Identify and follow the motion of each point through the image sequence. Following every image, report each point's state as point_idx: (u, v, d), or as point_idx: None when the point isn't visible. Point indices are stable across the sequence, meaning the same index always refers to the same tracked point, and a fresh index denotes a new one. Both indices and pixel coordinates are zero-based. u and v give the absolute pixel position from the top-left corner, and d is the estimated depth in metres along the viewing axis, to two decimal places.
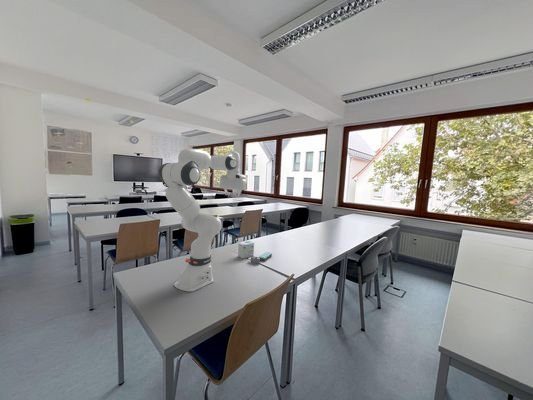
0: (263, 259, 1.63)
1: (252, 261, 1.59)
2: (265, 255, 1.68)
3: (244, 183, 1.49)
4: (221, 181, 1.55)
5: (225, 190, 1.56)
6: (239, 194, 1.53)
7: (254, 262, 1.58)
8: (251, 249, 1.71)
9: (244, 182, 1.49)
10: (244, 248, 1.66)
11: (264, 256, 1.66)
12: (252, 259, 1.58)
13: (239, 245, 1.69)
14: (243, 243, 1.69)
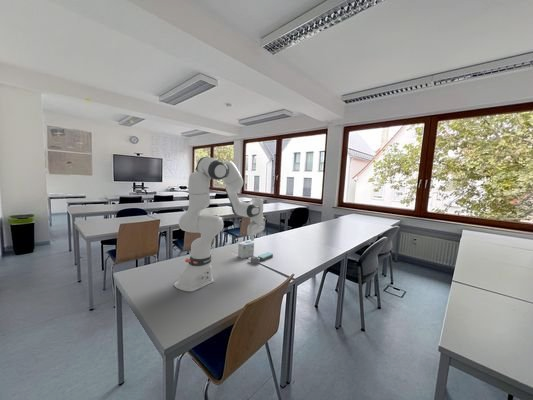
0: (261, 259, 1.64)
1: (252, 261, 1.59)
2: (265, 255, 1.68)
3: None
4: (252, 229, 1.49)
5: (252, 236, 1.52)
6: None
7: (254, 262, 1.58)
8: (251, 249, 1.71)
9: None
10: (244, 248, 1.66)
11: (263, 256, 1.66)
12: (252, 259, 1.58)
13: (239, 245, 1.69)
14: (243, 243, 1.69)
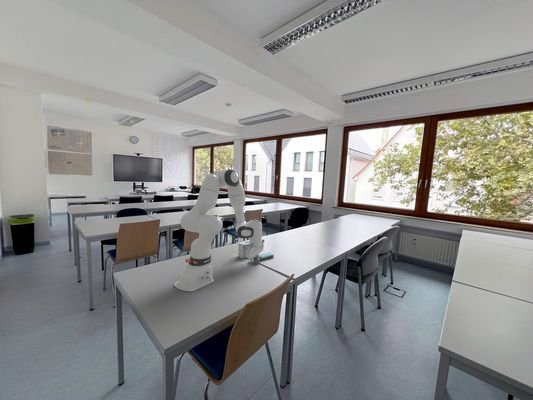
0: (260, 258, 1.65)
1: None
2: (264, 255, 1.68)
3: None
4: (251, 252, 1.51)
5: (253, 258, 1.56)
6: None
7: (254, 262, 1.58)
8: None
9: None
10: (244, 248, 1.66)
11: (262, 256, 1.66)
12: None
13: (239, 245, 1.69)
14: (243, 243, 1.69)
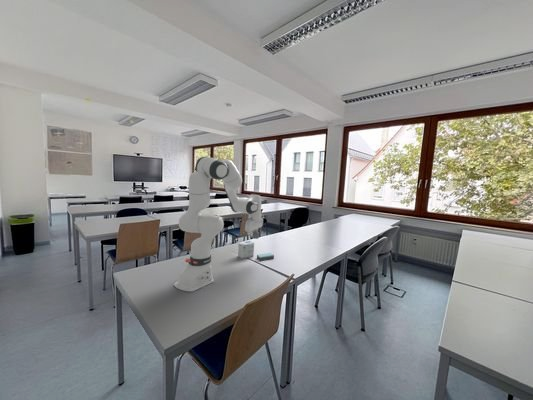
0: (259, 258, 1.65)
1: None
2: (264, 255, 1.68)
3: None
4: (250, 225, 1.52)
5: None
6: None
7: (253, 236, 1.59)
8: (251, 249, 1.71)
9: None
10: (244, 248, 1.66)
11: (261, 255, 1.67)
12: None
13: (239, 245, 1.69)
14: (243, 243, 1.69)
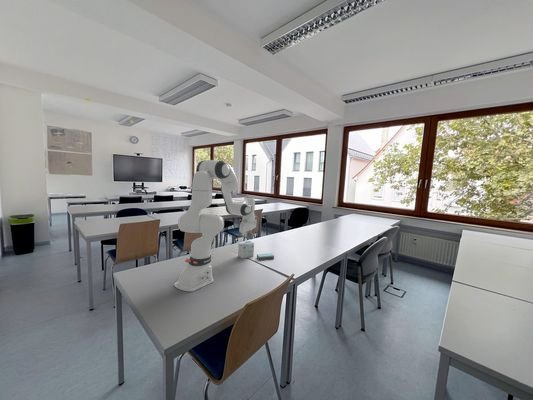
0: (258, 257, 1.66)
1: None
2: (264, 255, 1.68)
3: None
4: (244, 226, 1.61)
5: None
6: None
7: (247, 237, 1.68)
8: (251, 249, 1.71)
9: None
10: (244, 248, 1.66)
11: (261, 255, 1.67)
12: None
13: (239, 245, 1.69)
14: (243, 243, 1.69)
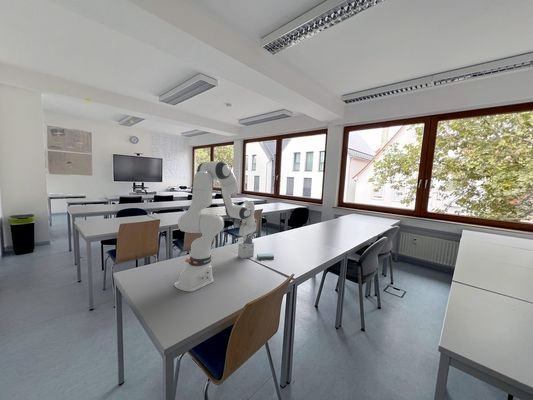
0: (258, 257, 1.67)
1: (245, 241, 1.69)
2: (264, 255, 1.68)
3: None
4: (244, 229, 1.61)
5: None
6: None
7: (247, 242, 1.68)
8: (251, 249, 1.71)
9: None
10: (244, 248, 1.66)
11: (261, 255, 1.67)
12: None
13: (239, 245, 1.69)
14: (243, 243, 1.69)
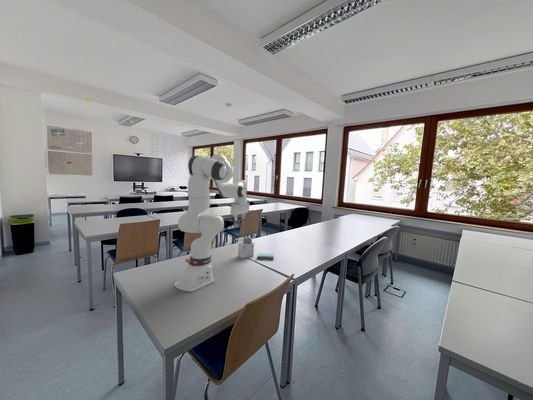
0: None
1: (245, 241, 1.69)
2: (263, 255, 1.69)
3: None
4: (235, 208, 1.58)
5: None
6: None
7: (246, 242, 1.68)
8: (251, 249, 1.71)
9: None
10: (244, 248, 1.66)
11: (260, 255, 1.68)
12: (245, 239, 1.69)
13: (239, 245, 1.69)
14: (243, 243, 1.69)
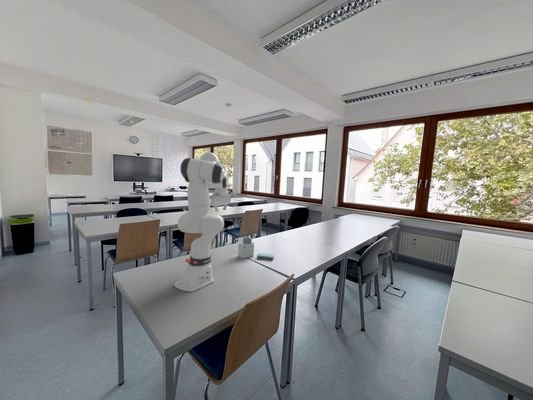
0: None
1: (244, 241, 1.69)
2: (263, 254, 1.69)
3: None
4: (215, 199, 1.55)
5: (216, 207, 1.59)
6: None
7: (246, 242, 1.69)
8: (251, 249, 1.71)
9: None
10: (244, 248, 1.66)
11: (260, 254, 1.69)
12: (244, 239, 1.69)
13: (239, 245, 1.69)
14: (243, 243, 1.69)
